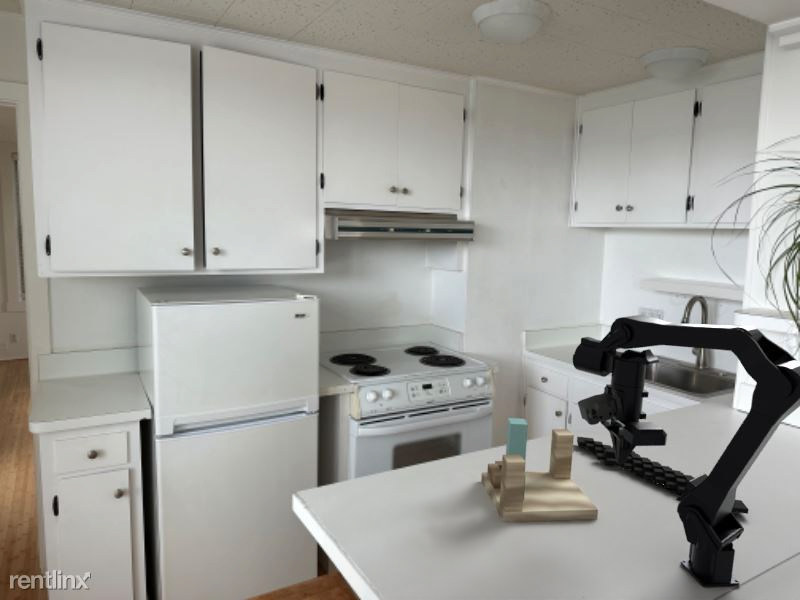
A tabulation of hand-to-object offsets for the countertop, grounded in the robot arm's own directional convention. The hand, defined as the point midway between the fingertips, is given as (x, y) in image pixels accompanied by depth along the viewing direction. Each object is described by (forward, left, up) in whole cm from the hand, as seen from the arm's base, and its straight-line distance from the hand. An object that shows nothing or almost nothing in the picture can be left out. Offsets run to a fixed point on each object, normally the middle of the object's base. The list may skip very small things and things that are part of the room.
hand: (620, 462), depth 105 cm
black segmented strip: (+20, -19, -14) cm, 31 cm away
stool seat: (+11, +11, -13) cm, 21 cm away
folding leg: (+13, +16, -10) cm, 23 cm away
